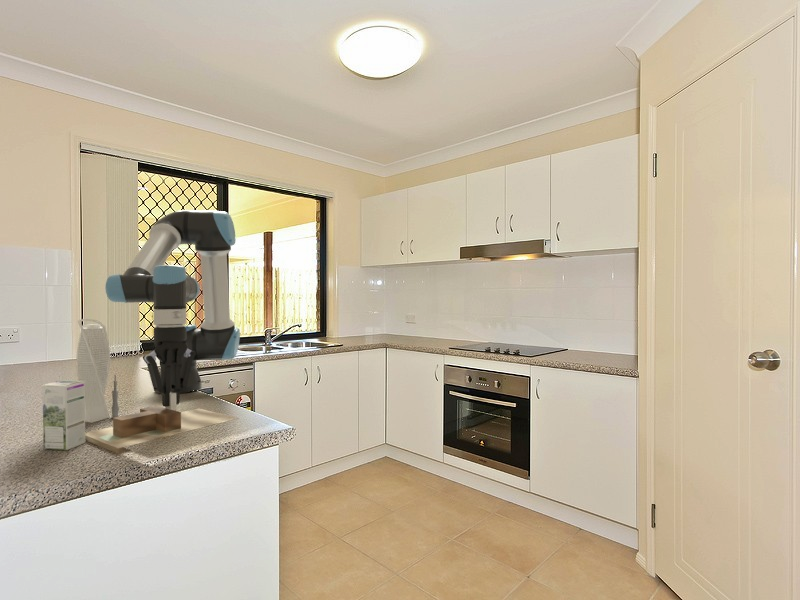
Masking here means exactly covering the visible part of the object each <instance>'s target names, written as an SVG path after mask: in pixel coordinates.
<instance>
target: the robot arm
mask: <svg viewBox="0 0 800 600" xmlns="http://www.w3.org/2000/svg"><path fill="white" fill-rule="evenodd" d="M148 234H149V237H148V238H147V240H146V241H145V242H144V244H143V246H141V248H140V250H139V252H138V253H137V254H136V256H135V257H134V258H133V260H132V262H131V263H130V265H129V266H128V268H127V269H126V270H125V271H124V273H123V274H121V273H118V274H112V275H109V276H108V277H107V279H106V281H105V293H106V297H107V299H108V300H109V301H111V302H113V303H124V304H127V303H130V304H131V303H152V304H153V307H152V308H153V313H152V315H153V325H154V326H155V327H154V328H153V343H154V344H153V347H152V350H151V352H150V353H148V354H144V355H143V356H142V360H143V361H144V363H145V364H146V365H147V370H148V373H149V378H150V381H151V386H152V388H153V391H154V392H155V393H158V394H161V405H162V406H163V407H164V408H166V409H170V410H174V411H177V405H179V404H180V394H184V393H191V392H190V391H192V392H194V391H193V390H196V391H200V390H202V387H203V385H202V384H203V383H202V379H201V376H200V374H199V370H198V368H197V362H198V361H227V360H233V359H234V358H236V356H237V353H238V350H239V346H240V339H241V331H240V328H237V327H235V326H236V325H235V322H234V320H232V319H231V318H230V317H231V315H230V295H229V294H230V293H229V292H230V291H229V275H228V273H229V272H228V254H229V253H230V251H232V246H234V245H236V230H235V225H234V221H233V219H232V216H231V215H230V214H229V213H228V212H226V211H221V210H220V211H219V210H191V209H182V210H176V211H172V212H170V213H168V214H166V215H165V216H163V217H161V218H159V219H158V220H157V221H156V222H155V223H154V224H153V225H152V227H151V228H150V229H149V233H148ZM180 245H194V247H195V252H197V254H199V255H200V268H201V269H200V270H201V282H202V283H201V285H202V301H203V315H204V316H203V317H204V320H203V322H202V323H201V324H200V328H198V327H197V325H196V324H190V325H186V324H187V303H189V302H192V301H194V300H195V299H196V298H198V296H199V294H200V293H201V292H200V290H201V288H200V287H201V286H200V284H199V282H198V280H196V278H194V277H192V276H190V275H187V271H186V269H187V268H185V267H184V266H183V265H173V264H171V265H170V264H166V262H167V260H168V259H169V257H170V255H171V253H172V251H173V250H175V249H177V248H178V247H179V246H180ZM157 359H158V361H159V367H160V370H159V367H158V363H157V362H156V361H157ZM196 391H195V392H196Z"/></svg>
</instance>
